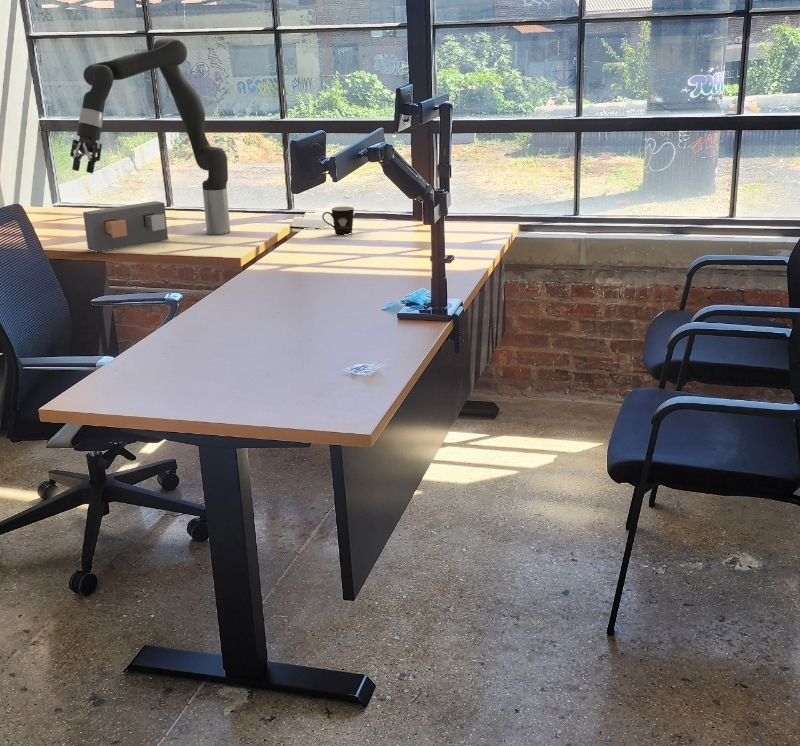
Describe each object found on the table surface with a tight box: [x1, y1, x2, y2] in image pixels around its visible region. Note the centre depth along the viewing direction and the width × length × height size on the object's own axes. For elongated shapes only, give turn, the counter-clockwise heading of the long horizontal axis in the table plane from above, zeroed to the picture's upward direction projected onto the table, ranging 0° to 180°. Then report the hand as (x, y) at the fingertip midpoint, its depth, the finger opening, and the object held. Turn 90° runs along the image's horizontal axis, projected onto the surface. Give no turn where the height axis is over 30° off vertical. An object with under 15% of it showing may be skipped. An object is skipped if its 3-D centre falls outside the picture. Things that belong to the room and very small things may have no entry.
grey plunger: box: [143, 214, 166, 231], centre depth 346 cm, size 10×6×6 cm, turn 44°
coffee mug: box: [322, 207, 355, 236], centre depth 357 cm, size 12×9×10 cm
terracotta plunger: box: [104, 220, 127, 238], centre depth 335 cm, size 10×6×6 cm, turn 44°
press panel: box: [82, 200, 169, 252], centre depth 344 cm, size 6×30×14 cm, turn 134°
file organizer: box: [290, 202, 355, 230], centre depth 382 cm, size 13×35×5 cm, turn 159°
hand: (82, 171), depth 314 cm, fingers open, 8 cm apart
